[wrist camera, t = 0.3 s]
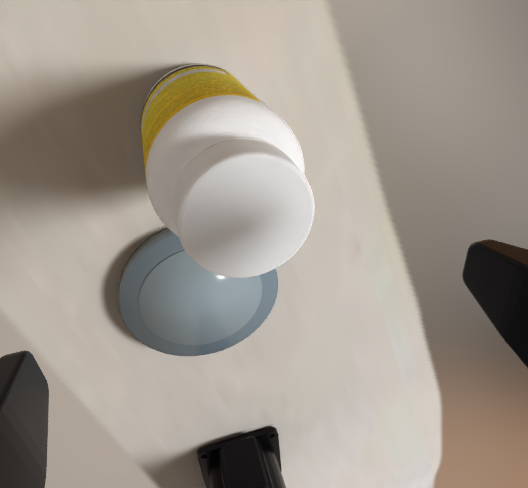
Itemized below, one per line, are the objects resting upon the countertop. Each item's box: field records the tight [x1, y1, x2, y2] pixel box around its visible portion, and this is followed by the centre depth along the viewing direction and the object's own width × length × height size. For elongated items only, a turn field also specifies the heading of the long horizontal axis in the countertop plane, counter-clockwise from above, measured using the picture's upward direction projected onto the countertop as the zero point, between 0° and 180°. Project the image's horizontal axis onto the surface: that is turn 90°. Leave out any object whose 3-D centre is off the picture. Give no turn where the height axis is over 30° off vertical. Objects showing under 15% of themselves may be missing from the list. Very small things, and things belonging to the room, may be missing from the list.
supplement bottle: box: [141, 64, 315, 278], centre depth 15 cm, size 5×5×10 cm
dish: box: [119, 228, 278, 356], centre depth 24 cm, size 9×9×1 cm
